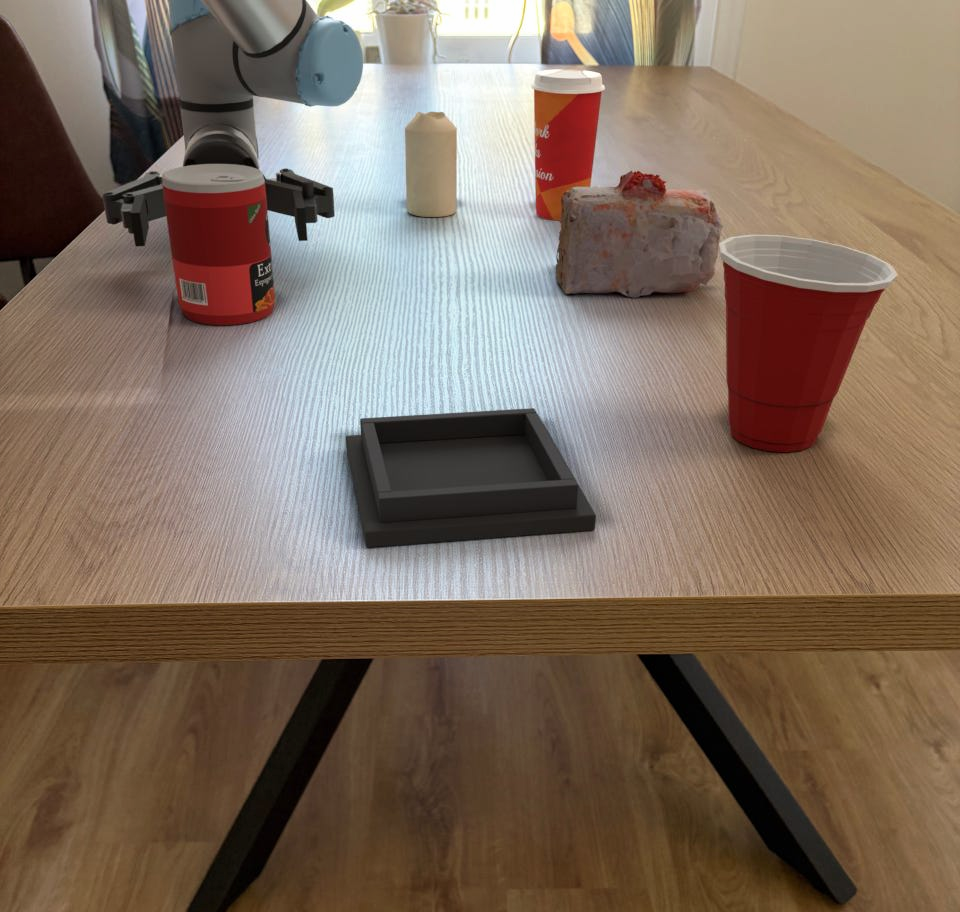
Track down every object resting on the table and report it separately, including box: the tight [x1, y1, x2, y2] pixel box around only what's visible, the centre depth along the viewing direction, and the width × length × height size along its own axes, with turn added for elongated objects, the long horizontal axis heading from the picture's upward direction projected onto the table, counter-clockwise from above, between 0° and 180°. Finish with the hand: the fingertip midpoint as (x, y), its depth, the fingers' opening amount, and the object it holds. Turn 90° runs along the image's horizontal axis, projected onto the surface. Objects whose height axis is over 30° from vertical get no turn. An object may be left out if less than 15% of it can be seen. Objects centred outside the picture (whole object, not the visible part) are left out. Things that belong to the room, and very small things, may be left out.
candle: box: [404, 111, 458, 218], centre depth 121 cm, size 6×6×10 cm
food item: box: [555, 170, 724, 298], centre depth 99 cm, size 14×8×10 cm, turn 95°
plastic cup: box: [718, 234, 899, 453], centre depth 71 cm, size 11×11×12 cm
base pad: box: [345, 407, 597, 548], centre depth 67 cm, size 13×13×2 cm
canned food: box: [161, 164, 276, 326], centre depth 91 cm, size 8×8×11 cm
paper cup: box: [530, 68, 606, 221], centre depth 120 cm, size 8×8×14 cm
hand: (220, 227), depth 94 cm, fingers open, 13 cm apart
